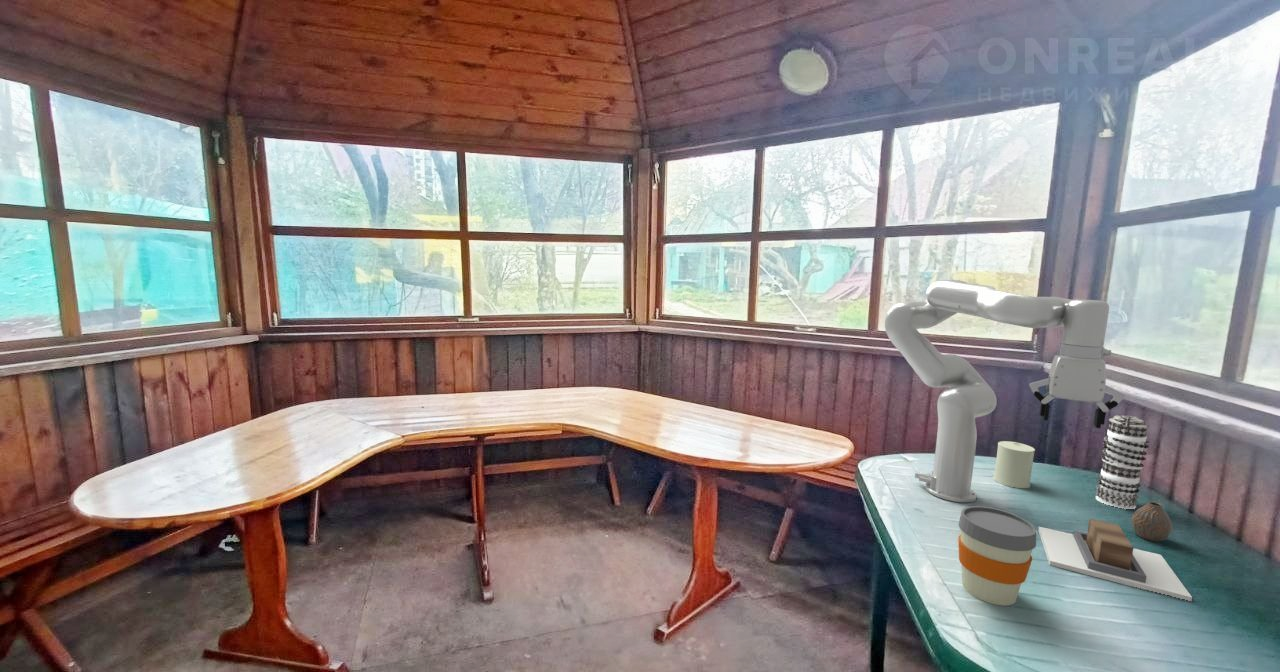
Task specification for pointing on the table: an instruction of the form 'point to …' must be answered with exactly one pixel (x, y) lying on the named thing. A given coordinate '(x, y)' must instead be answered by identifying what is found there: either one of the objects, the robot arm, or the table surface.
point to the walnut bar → (1109, 544)
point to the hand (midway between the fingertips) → (1070, 422)
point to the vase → (1152, 522)
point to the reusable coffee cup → (994, 553)
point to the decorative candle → (1122, 461)
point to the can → (1014, 464)
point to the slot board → (1143, 569)
